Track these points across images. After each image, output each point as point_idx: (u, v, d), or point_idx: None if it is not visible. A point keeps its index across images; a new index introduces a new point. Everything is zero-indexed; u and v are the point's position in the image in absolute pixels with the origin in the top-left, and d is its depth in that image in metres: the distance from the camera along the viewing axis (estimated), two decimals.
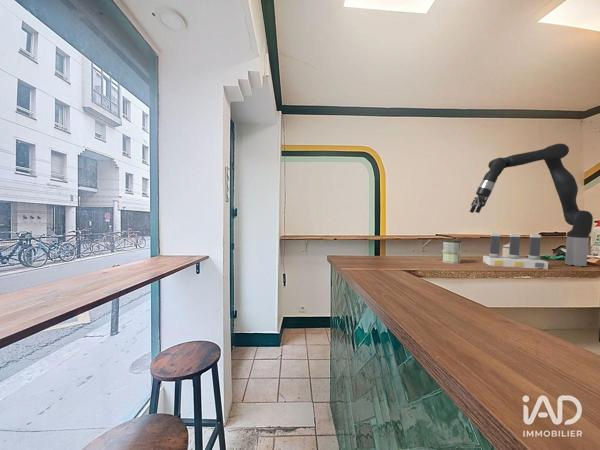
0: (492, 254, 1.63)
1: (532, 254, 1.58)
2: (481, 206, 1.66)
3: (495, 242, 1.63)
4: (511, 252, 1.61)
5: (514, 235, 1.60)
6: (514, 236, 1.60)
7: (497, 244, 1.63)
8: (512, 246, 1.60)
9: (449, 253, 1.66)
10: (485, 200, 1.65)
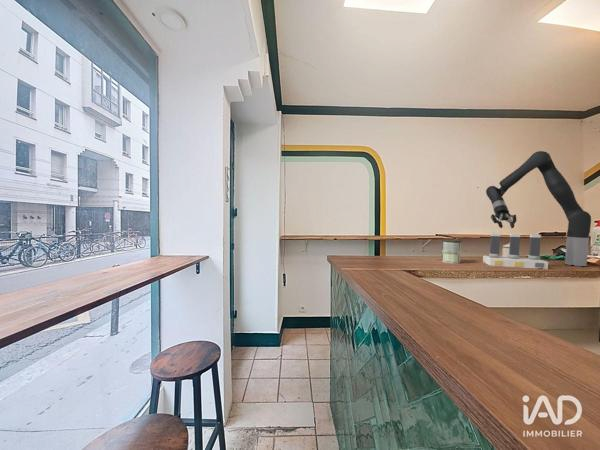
0: (492, 254, 1.63)
1: (532, 254, 1.58)
2: (497, 222, 1.74)
3: (495, 242, 1.63)
4: (511, 252, 1.61)
5: (514, 235, 1.60)
6: (514, 236, 1.60)
7: (497, 244, 1.63)
8: (512, 246, 1.60)
9: (449, 253, 1.66)
10: (492, 217, 1.77)
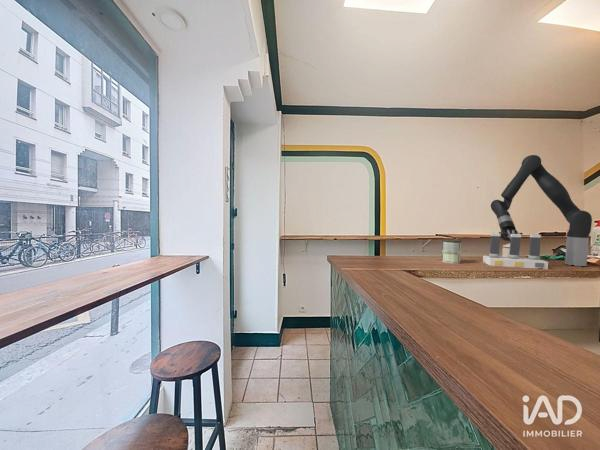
0: (492, 254, 1.63)
1: (532, 254, 1.58)
2: (508, 239, 1.64)
3: (495, 242, 1.63)
4: (511, 252, 1.61)
5: (515, 235, 1.59)
6: (514, 236, 1.59)
7: (497, 244, 1.63)
8: (512, 246, 1.60)
9: (449, 253, 1.66)
10: (501, 235, 1.67)
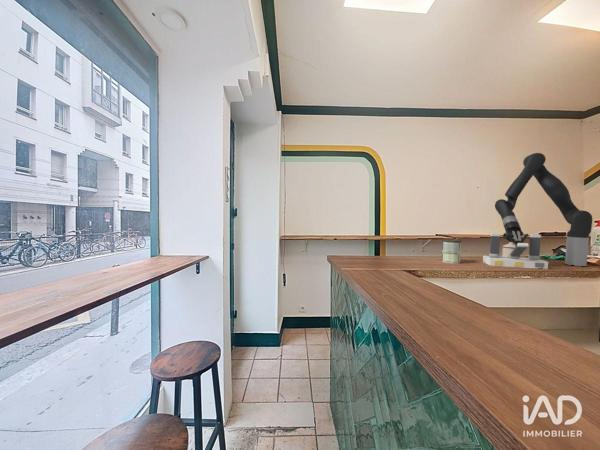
0: (492, 254, 1.63)
1: (532, 254, 1.58)
2: (513, 241, 1.57)
3: (495, 242, 1.63)
4: (512, 255, 1.59)
5: (521, 246, 1.51)
6: (521, 246, 1.51)
7: (497, 244, 1.63)
8: (515, 252, 1.56)
9: (449, 253, 1.66)
10: (506, 236, 1.60)
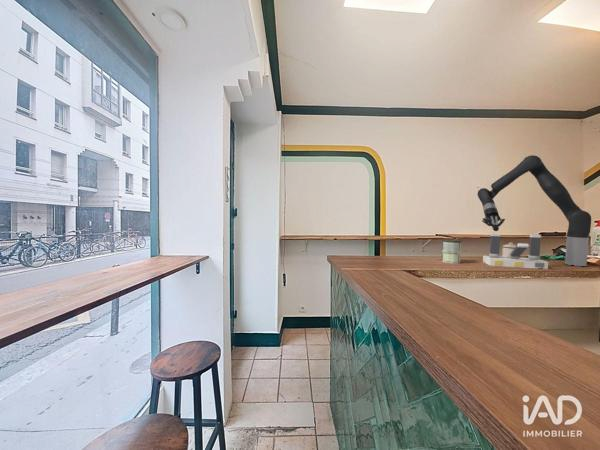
0: (492, 254, 1.63)
1: (532, 254, 1.58)
2: (491, 225, 1.75)
3: (495, 242, 1.63)
4: (512, 255, 1.59)
5: (522, 246, 1.51)
6: (521, 247, 1.51)
7: (497, 244, 1.63)
8: (515, 252, 1.56)
9: (449, 253, 1.66)
10: (485, 221, 1.78)
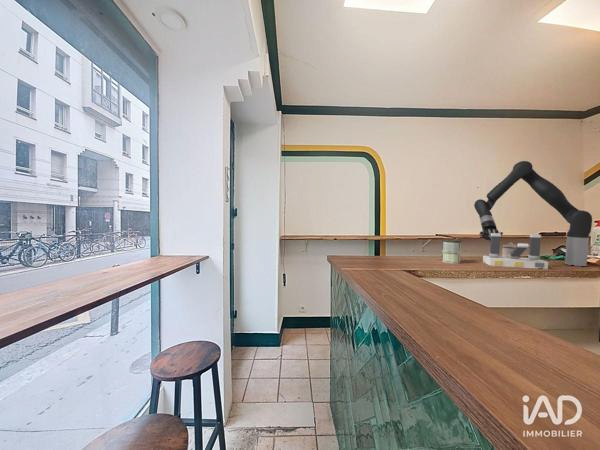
0: (492, 254, 1.63)
1: (532, 254, 1.58)
2: (489, 239, 1.67)
3: (495, 242, 1.62)
4: (512, 255, 1.59)
5: (522, 246, 1.51)
6: (521, 247, 1.51)
7: (497, 244, 1.62)
8: (515, 252, 1.56)
9: (449, 253, 1.66)
10: (482, 235, 1.70)
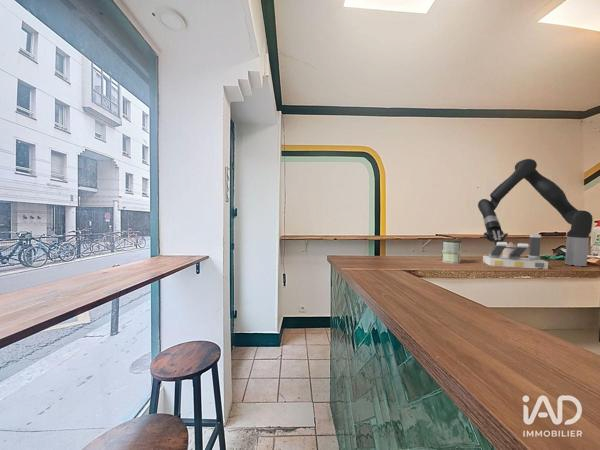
0: (492, 256, 1.63)
1: (532, 254, 1.58)
2: (493, 240, 1.61)
3: (499, 249, 1.57)
4: (512, 255, 1.59)
5: (522, 246, 1.51)
6: (521, 247, 1.51)
7: (500, 250, 1.58)
8: (515, 252, 1.56)
9: (449, 253, 1.66)
10: (486, 236, 1.63)
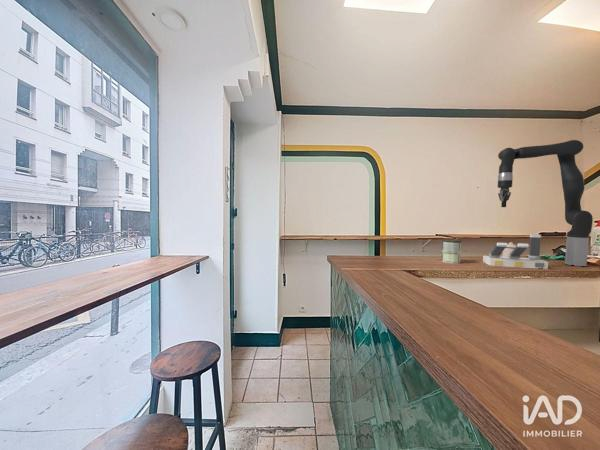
0: (492, 256, 1.63)
1: (532, 254, 1.58)
2: (505, 200, 1.71)
3: (499, 249, 1.57)
4: (512, 255, 1.59)
5: (522, 246, 1.51)
6: (521, 247, 1.51)
7: (500, 250, 1.58)
8: (515, 252, 1.56)
9: (449, 253, 1.66)
10: (508, 195, 1.68)
